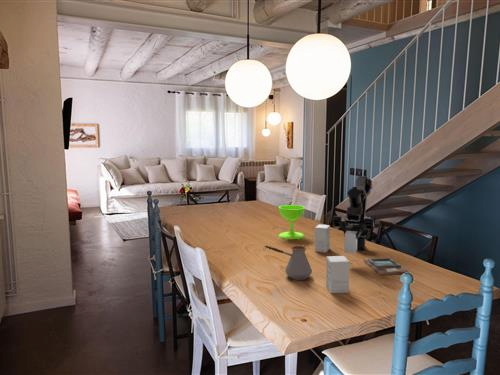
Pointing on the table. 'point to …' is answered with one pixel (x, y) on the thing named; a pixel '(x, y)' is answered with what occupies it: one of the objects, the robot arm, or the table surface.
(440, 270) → the table surface
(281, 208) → the wineglass
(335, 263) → the supplement box
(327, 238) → the small box
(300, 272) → the coffee pot
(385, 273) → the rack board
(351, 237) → the light grey block
